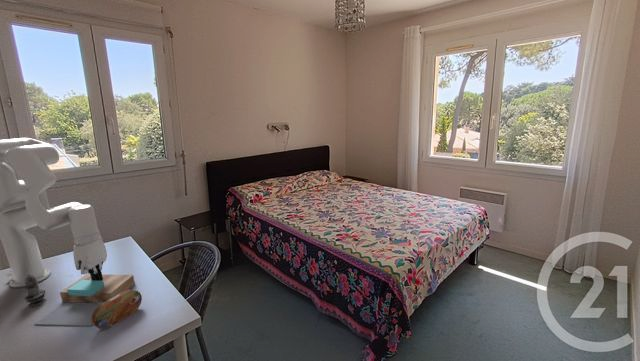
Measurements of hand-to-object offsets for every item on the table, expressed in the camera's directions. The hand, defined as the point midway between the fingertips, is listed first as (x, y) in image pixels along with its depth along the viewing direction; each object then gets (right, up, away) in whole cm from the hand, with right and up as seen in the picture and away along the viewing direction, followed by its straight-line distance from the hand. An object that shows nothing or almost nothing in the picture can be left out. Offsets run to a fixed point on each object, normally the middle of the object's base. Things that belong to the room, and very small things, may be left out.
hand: (97, 280), depth 112 cm
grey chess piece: (-19, -7, -4) cm, 21 cm away
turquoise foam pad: (-1, -2, -4) cm, 5 cm away
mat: (+1, -8, -11) cm, 14 cm away
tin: (+18, -8, -13) cm, 24 cm away
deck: (0, -5, +1) cm, 5 cm away
